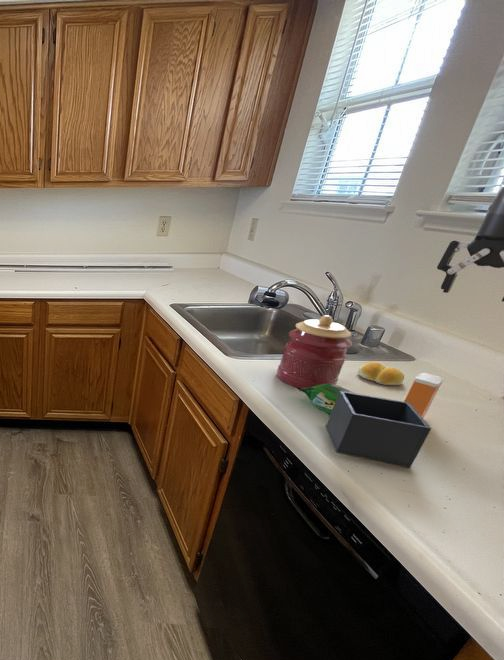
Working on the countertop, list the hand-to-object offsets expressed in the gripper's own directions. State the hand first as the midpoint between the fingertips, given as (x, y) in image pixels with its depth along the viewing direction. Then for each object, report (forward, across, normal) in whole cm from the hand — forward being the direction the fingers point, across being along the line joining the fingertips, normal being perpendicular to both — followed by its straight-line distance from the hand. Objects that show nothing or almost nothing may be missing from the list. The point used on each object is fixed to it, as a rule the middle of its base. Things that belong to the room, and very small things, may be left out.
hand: (474, 296), depth 85 cm
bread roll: (+26, +10, -10) cm, 30 cm away
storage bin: (+26, +2, +30) cm, 39 cm away
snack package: (+26, +10, +19) cm, 34 cm away
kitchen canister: (+26, +21, +7) cm, 34 cm away
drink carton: (+26, 0, +9) cm, 28 cm away
